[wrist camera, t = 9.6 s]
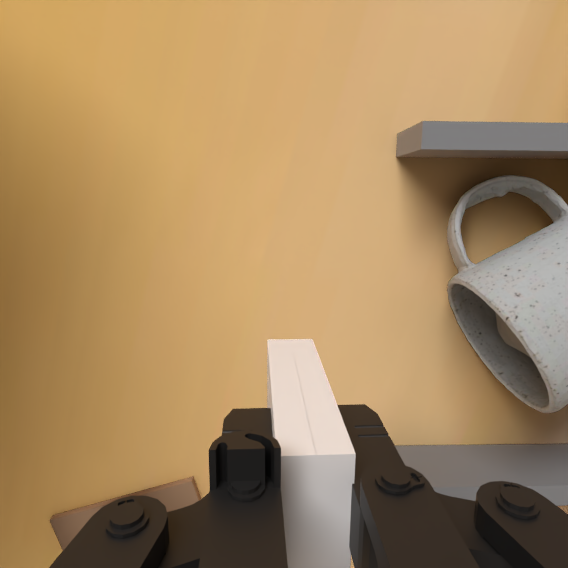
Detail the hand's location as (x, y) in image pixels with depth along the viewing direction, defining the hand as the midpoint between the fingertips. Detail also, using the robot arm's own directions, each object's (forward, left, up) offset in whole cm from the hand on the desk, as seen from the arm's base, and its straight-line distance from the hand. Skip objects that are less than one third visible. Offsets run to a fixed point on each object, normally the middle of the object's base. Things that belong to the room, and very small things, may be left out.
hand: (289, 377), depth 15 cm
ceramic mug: (+13, +2, -11) cm, 17 cm away
